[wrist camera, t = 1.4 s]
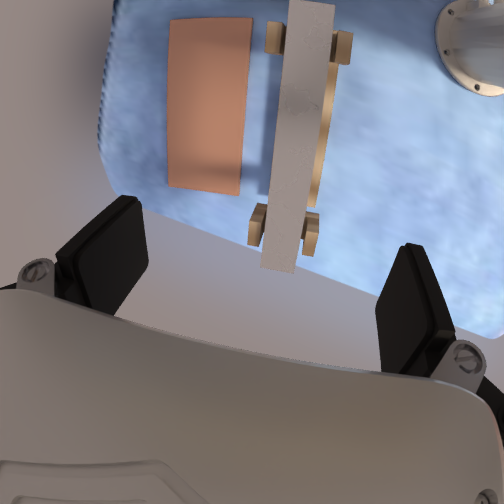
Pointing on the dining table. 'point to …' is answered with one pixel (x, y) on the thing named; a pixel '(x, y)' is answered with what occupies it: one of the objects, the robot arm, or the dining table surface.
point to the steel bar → (297, 129)
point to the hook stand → (338, 55)
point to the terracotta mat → (207, 102)
